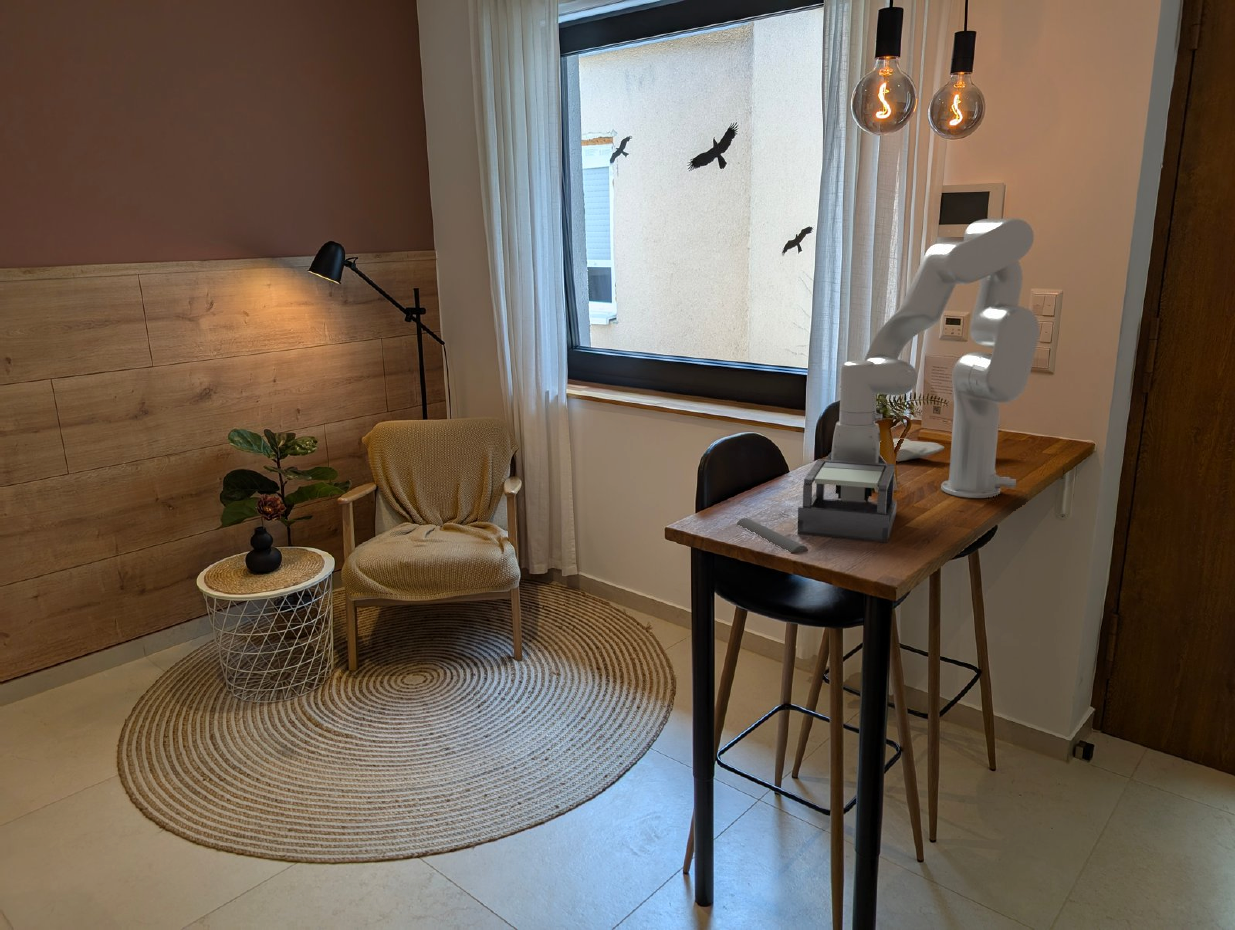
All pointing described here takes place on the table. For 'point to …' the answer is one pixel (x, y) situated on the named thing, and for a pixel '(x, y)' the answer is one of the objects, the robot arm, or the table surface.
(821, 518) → the trapdoor frame
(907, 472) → the table surface
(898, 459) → the rock
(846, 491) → the matte off-white cube
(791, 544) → the gray half cylinder
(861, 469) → the trapdoor
